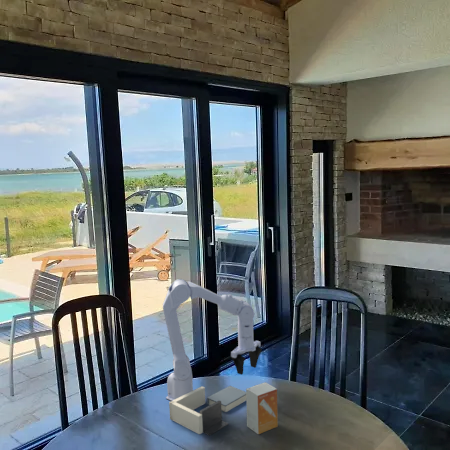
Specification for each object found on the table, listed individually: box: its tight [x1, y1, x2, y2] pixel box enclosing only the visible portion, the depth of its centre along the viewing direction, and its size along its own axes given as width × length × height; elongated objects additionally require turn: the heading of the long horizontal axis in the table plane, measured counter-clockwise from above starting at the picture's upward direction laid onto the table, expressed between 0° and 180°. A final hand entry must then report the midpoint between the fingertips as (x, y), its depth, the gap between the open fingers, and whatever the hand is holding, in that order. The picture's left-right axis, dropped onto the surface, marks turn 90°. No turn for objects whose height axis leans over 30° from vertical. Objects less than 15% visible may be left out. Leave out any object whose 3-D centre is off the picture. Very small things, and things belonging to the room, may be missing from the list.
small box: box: [245, 381, 279, 435], centre depth 150 cm, size 8×6×13 cm
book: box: [206, 385, 247, 413], centre depth 168 cm, size 9×12×3 cm
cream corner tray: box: [168, 385, 206, 435], centre depth 157 cm, size 14×15×6 cm
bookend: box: [199, 401, 229, 436], centre depth 151 cm, size 4×9×7 cm, turn 137°
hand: (246, 370), depth 174 cm, fingers open, 7 cm apart
